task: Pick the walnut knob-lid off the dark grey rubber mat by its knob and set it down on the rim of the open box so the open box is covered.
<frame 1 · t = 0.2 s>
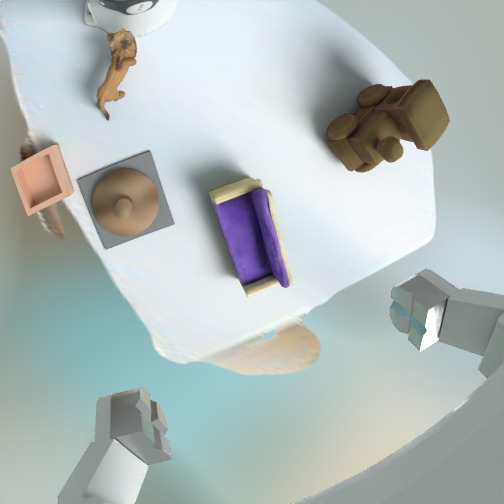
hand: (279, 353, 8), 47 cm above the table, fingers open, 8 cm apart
wooden toy train: (360, 124, 57), on the table
open box: (45, 177, 43), on the table
mat: (125, 201, 50), on the table
lid: (125, 202, 49), resting on mat
toy sofa: (243, 230, 59), on the table
lion figurine: (117, 76, 40), on the table
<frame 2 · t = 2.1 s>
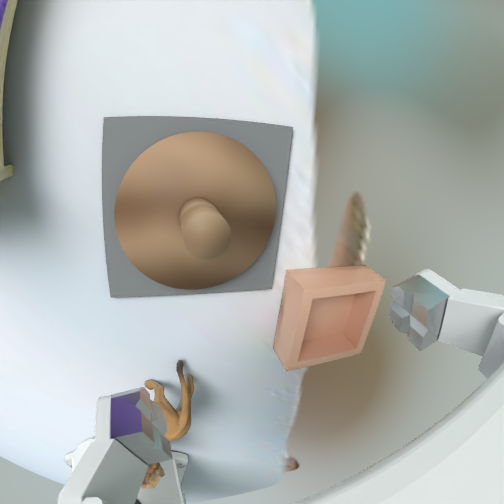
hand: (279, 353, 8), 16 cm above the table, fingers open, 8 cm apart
open box: (319, 307, 31), on the table
mat: (194, 210, 23), on the table
lid: (195, 212, 22), resting on mat
lion figurine: (154, 401, 29), on the table
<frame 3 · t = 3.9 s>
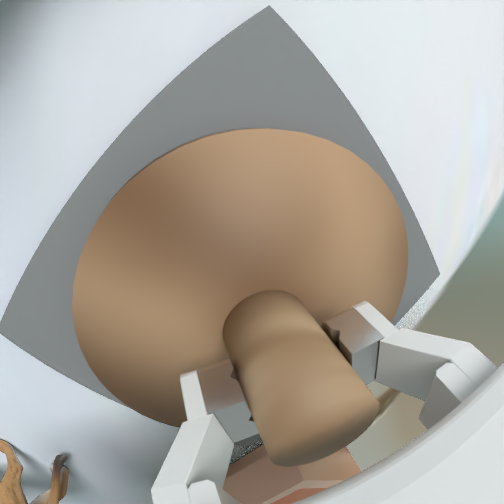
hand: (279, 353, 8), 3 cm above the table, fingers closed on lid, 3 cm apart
open box: (271, 472, 18), on the table
mat: (252, 303, 11), on the table
lid: (255, 309, 10), resting on mat, touching gripper
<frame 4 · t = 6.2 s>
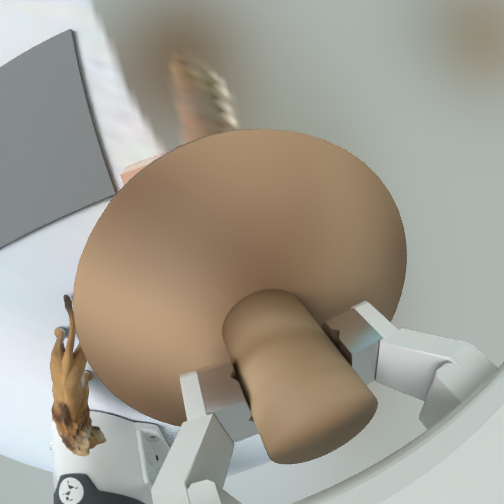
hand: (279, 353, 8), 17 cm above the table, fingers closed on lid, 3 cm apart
open box: (200, 202, 23), on the table
mat: (14, 146, 17), on the table
lid: (255, 309, 11), point 15 cm above the table, touching gripper
lion figurine: (80, 355, 26), on the table
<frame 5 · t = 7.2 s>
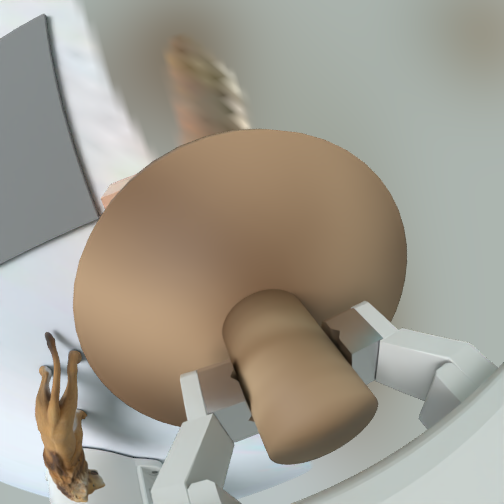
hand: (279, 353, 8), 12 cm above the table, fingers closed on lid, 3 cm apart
open box: (204, 227, 19), on the table
lid: (255, 309, 11), point 10 cm above the table, touching gripper
lion figurine: (70, 393, 21), on the table
when the fingers open (7 cm above the table, at t = 8.3 s): lid drops 1 cm, resting on open box.
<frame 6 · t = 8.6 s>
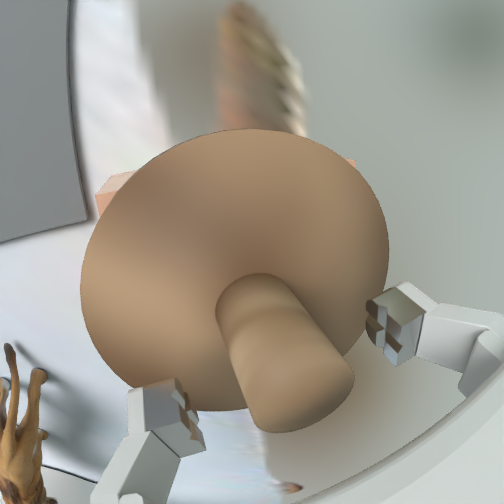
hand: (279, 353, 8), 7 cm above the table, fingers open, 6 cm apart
open box: (225, 253, 15), on the table
lid: (246, 293, 12), point 4 cm above the table, touching open box
lion figurine: (30, 411, 15), on the table
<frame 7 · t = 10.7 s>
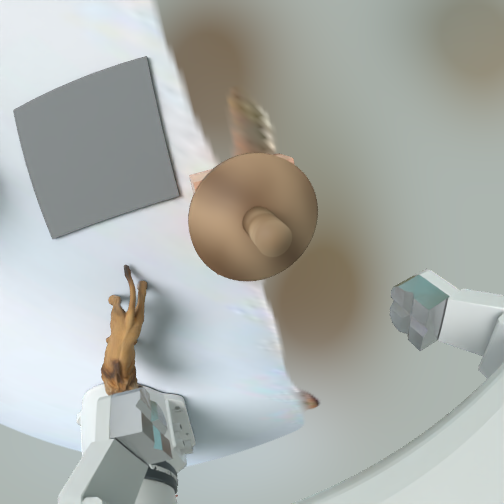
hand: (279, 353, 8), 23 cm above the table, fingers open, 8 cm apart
mat: (91, 148, 24), on the table
lid: (254, 218, 28), point 4 cm above the table, touching open box
lion figurine: (127, 321, 33), on the table
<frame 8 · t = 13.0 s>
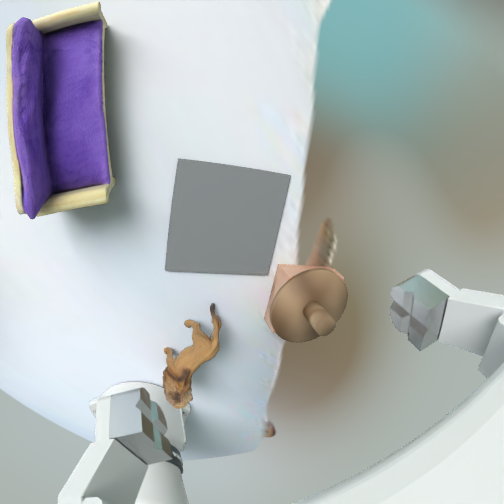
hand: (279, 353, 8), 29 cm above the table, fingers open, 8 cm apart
open box: (298, 292, 46), on the table
mat: (226, 221, 38), on the table
lid: (308, 305, 43), point 4 cm above the table, touching open box
toy sofa: (75, 108, 27), on the table
lion figurine: (188, 340, 44), on the table
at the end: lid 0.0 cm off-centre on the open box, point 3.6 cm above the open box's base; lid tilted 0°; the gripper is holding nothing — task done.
